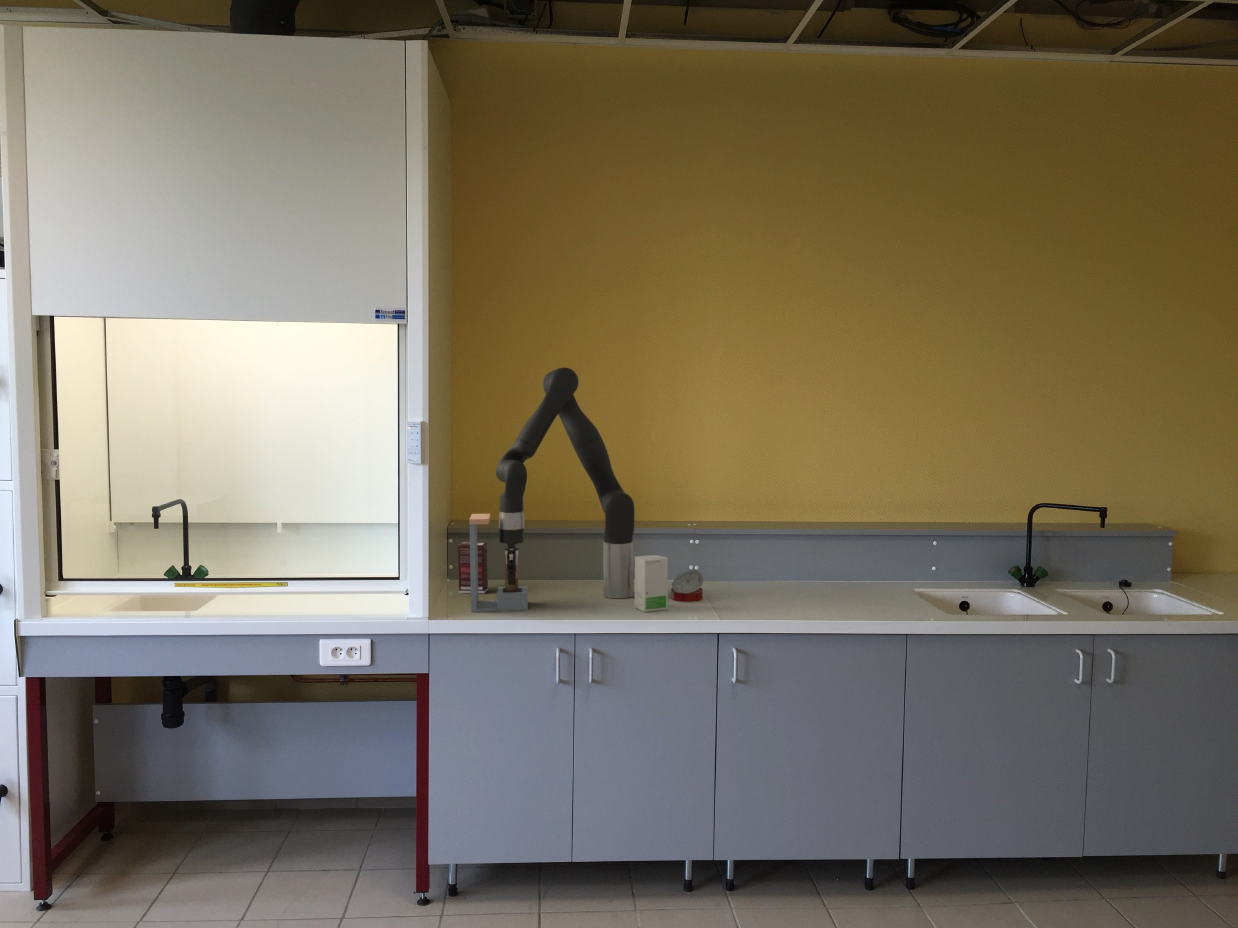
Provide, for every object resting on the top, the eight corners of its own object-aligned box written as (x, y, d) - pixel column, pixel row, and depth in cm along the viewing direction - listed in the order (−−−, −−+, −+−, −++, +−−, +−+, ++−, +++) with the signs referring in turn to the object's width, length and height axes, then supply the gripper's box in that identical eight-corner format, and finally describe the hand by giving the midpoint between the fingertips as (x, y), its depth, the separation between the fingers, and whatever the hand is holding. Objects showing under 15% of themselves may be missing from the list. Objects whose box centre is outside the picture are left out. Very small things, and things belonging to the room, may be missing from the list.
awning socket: (527, 601, 253) (526, 512, 251) (527, 610, 242) (526, 518, 240) (473, 602, 251) (471, 513, 249) (470, 612, 240) (469, 519, 238)
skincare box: (644, 612, 240) (644, 560, 239) (633, 607, 246) (633, 556, 244) (668, 609, 244) (668, 557, 242) (657, 604, 250) (657, 553, 248)
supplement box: (488, 590, 268) (487, 542, 266) (484, 593, 263) (483, 544, 261) (462, 589, 268) (461, 541, 267) (458, 593, 264) (457, 544, 262)
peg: (518, 594, 249) (518, 555, 248) (518, 598, 245) (518, 558, 244) (505, 595, 249) (504, 556, 248) (504, 598, 245) (504, 558, 244)
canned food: (703, 613, 256) (712, 589, 252) (673, 613, 253) (683, 588, 248) (691, 590, 265) (700, 565, 261) (662, 589, 262) (671, 564, 257)
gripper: (524, 530, 239) (524, 588, 240) (524, 522, 253) (524, 577, 254) (497, 530, 238) (498, 588, 239) (499, 522, 252) (500, 578, 253)
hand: (512, 582), depth 247 cm, fingers closed on peg, 4 cm apart
